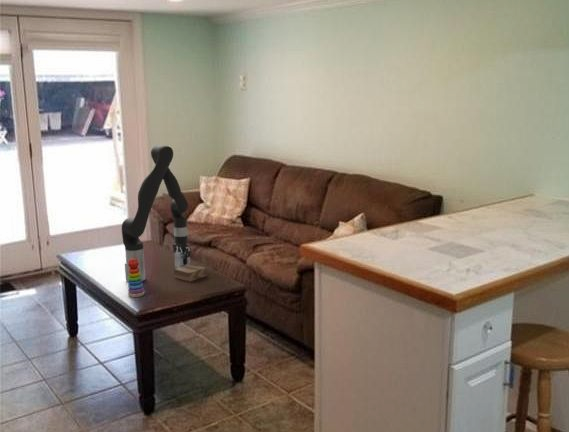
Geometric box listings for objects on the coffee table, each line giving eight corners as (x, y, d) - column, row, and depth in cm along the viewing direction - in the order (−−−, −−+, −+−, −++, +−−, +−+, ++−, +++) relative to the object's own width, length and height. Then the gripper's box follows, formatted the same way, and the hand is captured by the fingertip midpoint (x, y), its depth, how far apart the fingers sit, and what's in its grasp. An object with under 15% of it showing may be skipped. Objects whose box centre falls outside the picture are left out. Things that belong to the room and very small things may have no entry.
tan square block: (189, 282, 318) (189, 273, 316) (174, 278, 325) (174, 269, 324) (206, 276, 327) (205, 267, 326) (190, 272, 334) (190, 263, 333)
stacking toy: (142, 291, 304) (139, 255, 300) (146, 296, 297) (144, 259, 293) (126, 294, 300) (123, 257, 296) (130, 298, 293) (127, 261, 289)
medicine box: (180, 268, 340) (179, 254, 338) (174, 267, 342) (173, 252, 340) (190, 265, 346) (189, 250, 344) (185, 264, 348) (184, 249, 347)
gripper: (167, 233, 342) (169, 262, 346) (183, 237, 333) (185, 267, 336) (178, 231, 347) (179, 259, 351) (194, 235, 338) (195, 264, 342)
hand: (182, 263), depth 344 cm, fingers closed on medicine box, 4 cm apart
